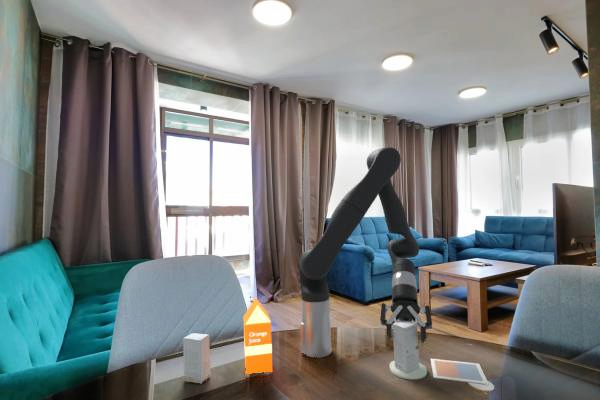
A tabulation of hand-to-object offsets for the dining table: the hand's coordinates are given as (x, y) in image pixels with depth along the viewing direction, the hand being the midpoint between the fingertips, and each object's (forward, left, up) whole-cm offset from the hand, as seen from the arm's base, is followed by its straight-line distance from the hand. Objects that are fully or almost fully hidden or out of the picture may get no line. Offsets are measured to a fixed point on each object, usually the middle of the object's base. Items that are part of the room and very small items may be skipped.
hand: (406, 340), depth 87 cm
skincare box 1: (-56, -19, -9) cm, 60 cm away
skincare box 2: (0, +2, -8) cm, 8 cm away
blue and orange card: (+13, +4, -9) cm, 16 cm away
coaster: (0, +1, -9) cm, 9 cm away
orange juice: (-42, -9, -9) cm, 44 cm away
